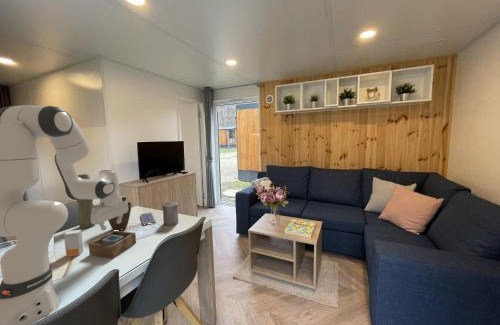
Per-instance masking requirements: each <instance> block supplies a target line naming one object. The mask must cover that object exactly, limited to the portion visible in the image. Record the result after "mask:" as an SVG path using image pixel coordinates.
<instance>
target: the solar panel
mask: <svg viewBox="0 0 500 325" xmlns="http://www.w3.org/2000/svg"><path fill="white" fill-rule="evenodd" d="M140 220H141V222H142V225H143V224H148V223H155V224H156V222H157V221H156V219H155V217H154V215H153V212H144V213H141V214H140Z"/></svg>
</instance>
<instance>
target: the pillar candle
mask: <svg viewBox="0 0 500 325" xmlns="http://www.w3.org/2000/svg"><path fill="white" fill-rule="evenodd" d="M178 206H179V205H178V202H176V201H170V202H169V201H168V202H164V203H163V204H162V213H163V225H164V226H167V227H168V226H169V227H170V226H175V225H177V224H178V223H179V210H178V209H179V208H178Z"/></svg>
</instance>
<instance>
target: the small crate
mask: <svg viewBox="0 0 500 325" xmlns="http://www.w3.org/2000/svg"><path fill="white" fill-rule="evenodd" d="M122 239H124V236H117V235H110V236H108V237H107V238H105V239H103V240H102V244H103V245H111V246H112V245H113V244H115V243H117V242H119V241H120V240H122Z"/></svg>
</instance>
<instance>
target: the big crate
mask: <svg viewBox="0 0 500 325" xmlns="http://www.w3.org/2000/svg"><path fill="white" fill-rule="evenodd" d="M110 235H117V236H124V239H122V240H120V241H119V242H117V243H115V244H113V245H112V246H111V245H103V244H102V240H103V239H105V238H107V237H108V236H110ZM136 238H137V237H136V232H131V231H124V230H122V231H113V230H112V231H111V232H109V233H107V234H105V235H103V236H101V237H99V238H97V239H95V240H93V241H91V242H89V243H88V250H89V256H95V257H102V258H108V259H109V258H110V259H114V258H115V257H117V256H119V255H120V254H121V253H123V252H124V251H126V250H128V249H129V248H132V246H134V245H135V244H136V243H137V240H136Z"/></svg>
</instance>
